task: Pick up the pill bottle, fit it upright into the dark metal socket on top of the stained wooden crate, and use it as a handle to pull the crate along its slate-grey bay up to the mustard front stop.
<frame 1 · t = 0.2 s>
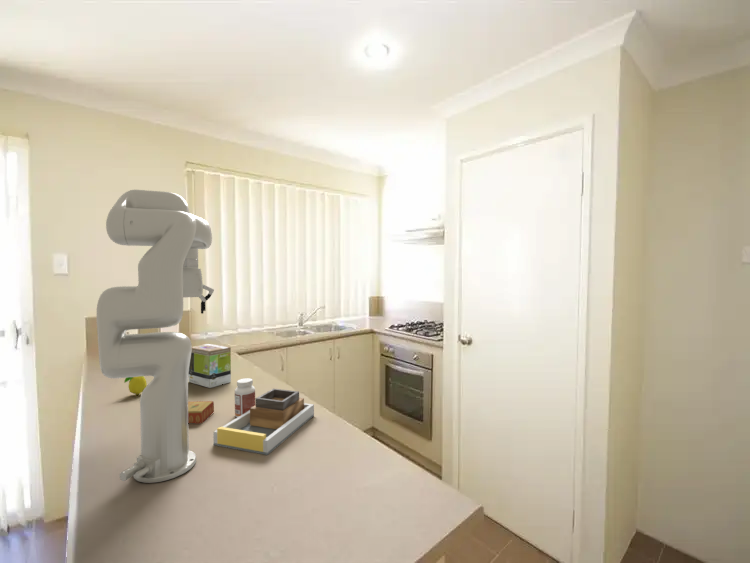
hand: (186, 313, 122), 31 cm above the counter, tool pointing down, fingers open, 9 cm apart
bay: (268, 429, 102), on the counter
crate: (278, 407, 107), point 5 cm above the counter, slide at 0.0 cm
tea box: (209, 382, 145), on the counter
lemon: (138, 395, 130), on the counter
carton: (182, 419, 110), on the counter
pill bottle: (245, 415, 112), on the counter
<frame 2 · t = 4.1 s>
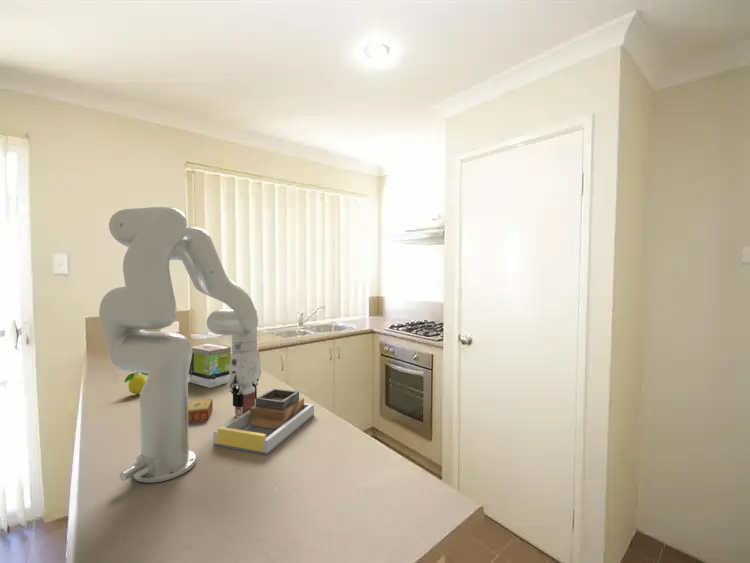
hand: (245, 401, 112), 4 cm above the counter, tool pointing down, fingers closed on pill bottle, 6 cm apart
pill bottle: (245, 415, 112), on the counter, touching gripper
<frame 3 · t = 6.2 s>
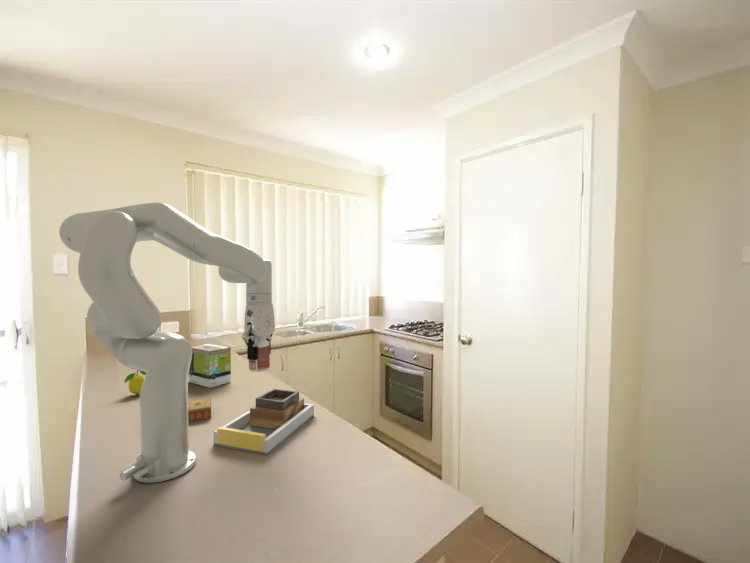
hand: (259, 356, 109), 19 cm above the counter, tool pointing down, fingers closed on pill bottle, 6 cm apart
pill bottle: (259, 370, 109), point 15 cm above the counter, touching gripper
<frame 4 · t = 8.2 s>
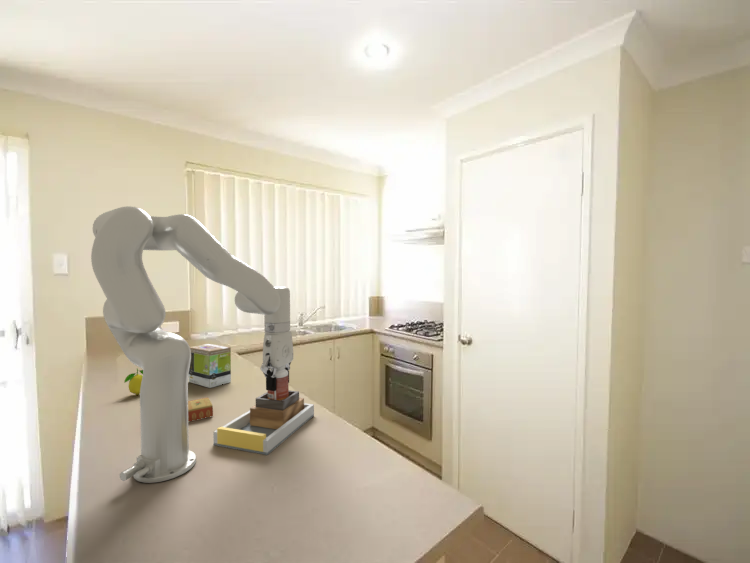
hand: (277, 386, 107), 11 cm above the counter, tool pointing down, fingers closed on pill bottle, 6 cm apart
pill bottle: (278, 400, 107), point 7 cm above the counter, touching gripper
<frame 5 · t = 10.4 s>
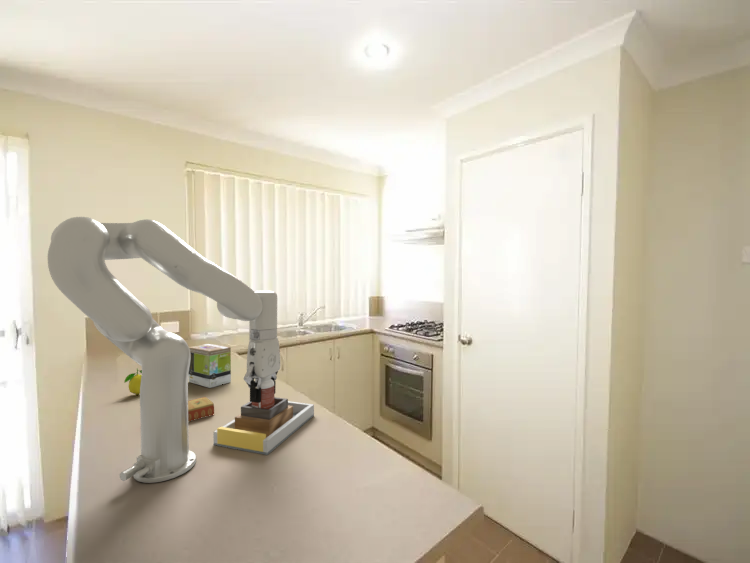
hand: (263, 397, 100), 10 cm above the counter, tool pointing down, fingers closed on pill bottle, 6 cm apart
crate: (265, 415, 100), point 5 cm above the counter, slide at 6.6 cm, touching pill bottle
pill bottle: (263, 412, 100), point 6 cm above the counter, touching crate, gripper
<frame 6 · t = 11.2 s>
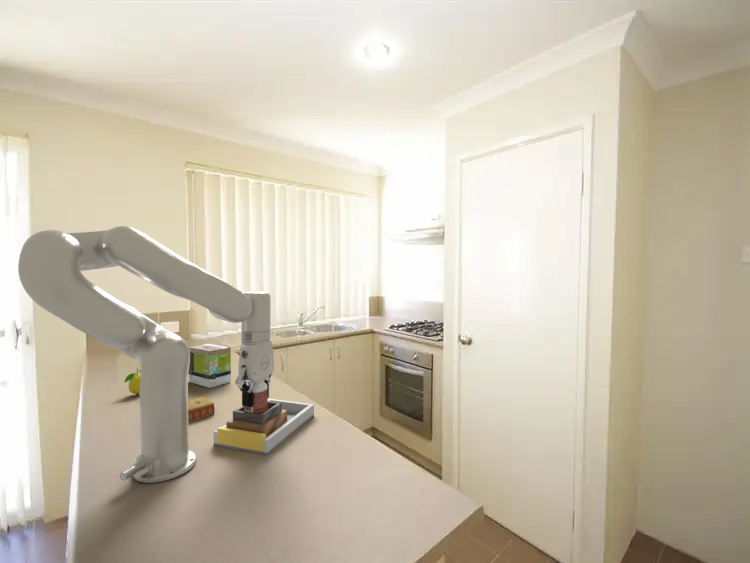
hand: (255, 401, 97), 10 cm above the counter, tool pointing down, fingers closed on pill bottle, 6 cm apart
crate: (258, 420, 97), point 5 cm above the counter, slide at 9.8 cm
pill bottle: (255, 416, 97), point 6 cm above the counter, touching gripper
when the fingers open (10 cm above the counter, at t = 12.7 s): pill bottle stays where it is, resting on crate.
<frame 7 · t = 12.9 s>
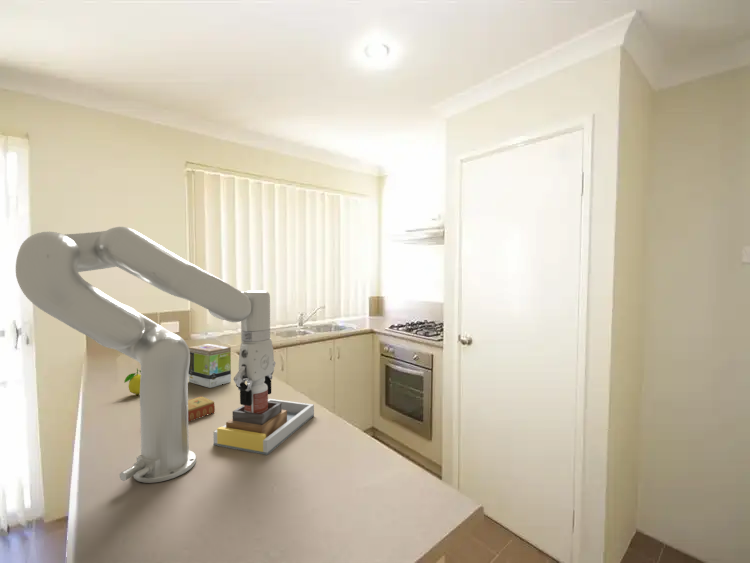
hand: (256, 398, 96), 11 cm above the counter, tool pointing down, fingers open, 8 cm apart
crate: (257, 420, 97), point 5 cm above the counter, slide at 9.9 cm, touching pill bottle
pill bottle: (256, 417, 97), point 6 cm above the counter, touching crate
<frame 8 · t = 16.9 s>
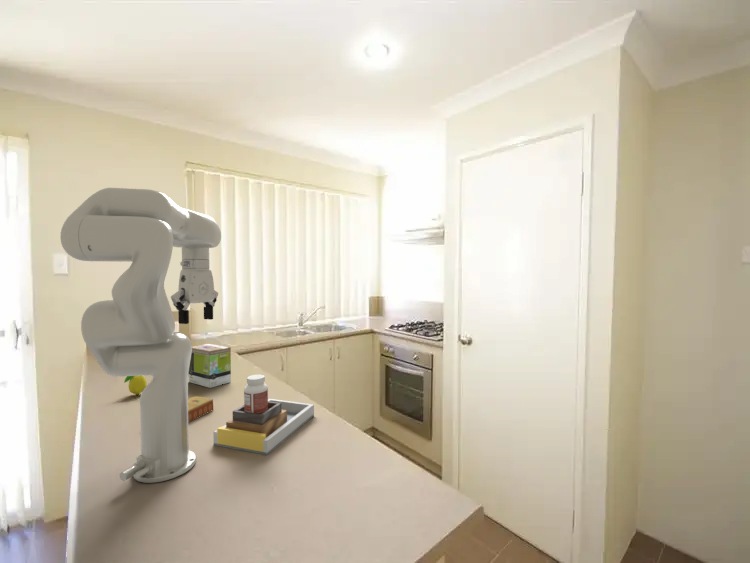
hand: (196, 321, 108), 30 cm above the counter, tool pointing down, fingers open, 9 cm apart
at the end: crate slide at 9.9 cm; pill bottle 1.0 cm from the target spot, point 5.6 cm above the counter; pill bottle tilted 0° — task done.
